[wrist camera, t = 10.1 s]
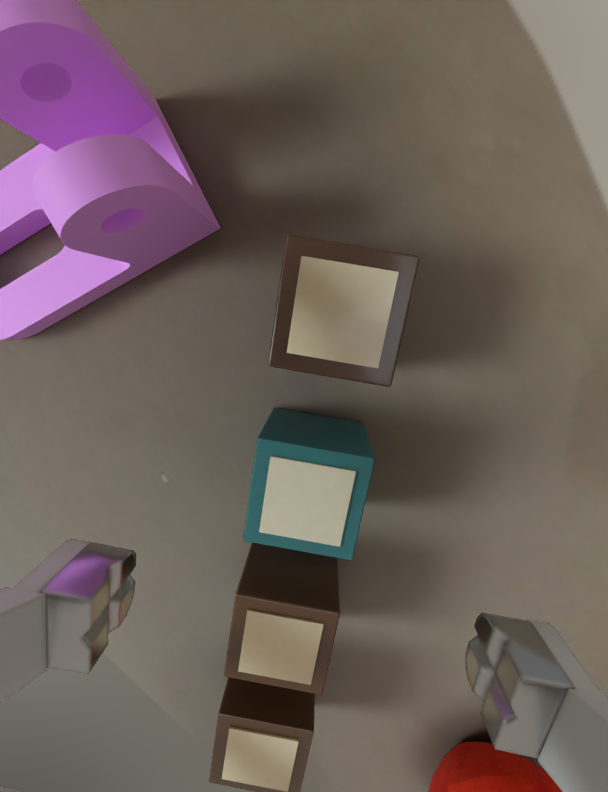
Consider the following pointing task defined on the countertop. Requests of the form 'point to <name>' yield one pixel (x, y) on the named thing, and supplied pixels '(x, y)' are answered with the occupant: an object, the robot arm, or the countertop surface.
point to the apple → (488, 771)
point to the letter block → (309, 484)
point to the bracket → (85, 166)
